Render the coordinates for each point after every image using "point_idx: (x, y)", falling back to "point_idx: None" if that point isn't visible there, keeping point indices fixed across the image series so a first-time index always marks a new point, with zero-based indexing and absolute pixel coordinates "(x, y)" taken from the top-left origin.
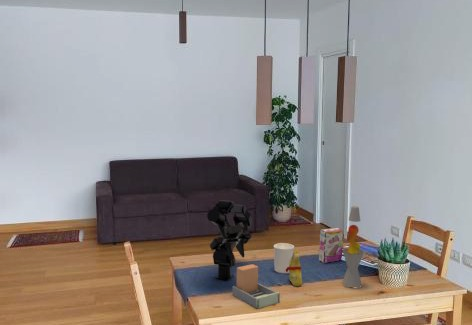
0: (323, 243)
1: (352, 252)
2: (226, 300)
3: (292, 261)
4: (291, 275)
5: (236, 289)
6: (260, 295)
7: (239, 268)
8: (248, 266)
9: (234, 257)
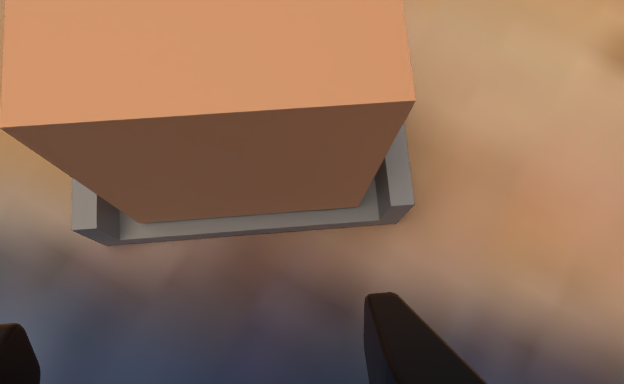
0: None
1: None
2: (514, 133)
3: None
4: None
5: (402, 132)
6: None
7: (392, 32)
8: (165, 44)
9: (383, 302)
